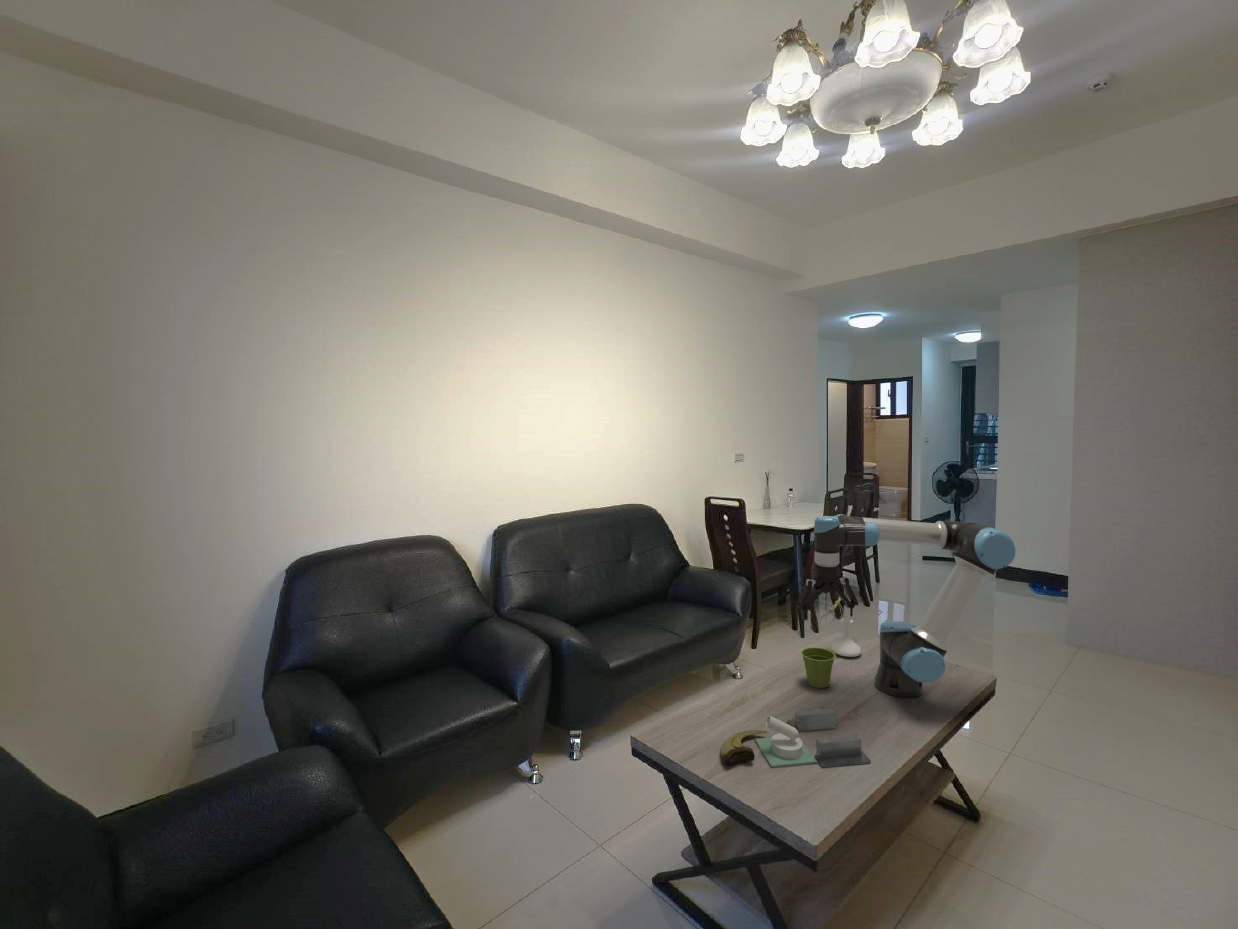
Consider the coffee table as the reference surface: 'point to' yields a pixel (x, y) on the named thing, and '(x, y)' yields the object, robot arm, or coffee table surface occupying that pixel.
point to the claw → (738, 748)
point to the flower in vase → (845, 639)
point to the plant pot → (818, 665)
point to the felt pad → (782, 762)
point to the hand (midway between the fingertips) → (827, 627)
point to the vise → (830, 739)
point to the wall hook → (785, 739)
